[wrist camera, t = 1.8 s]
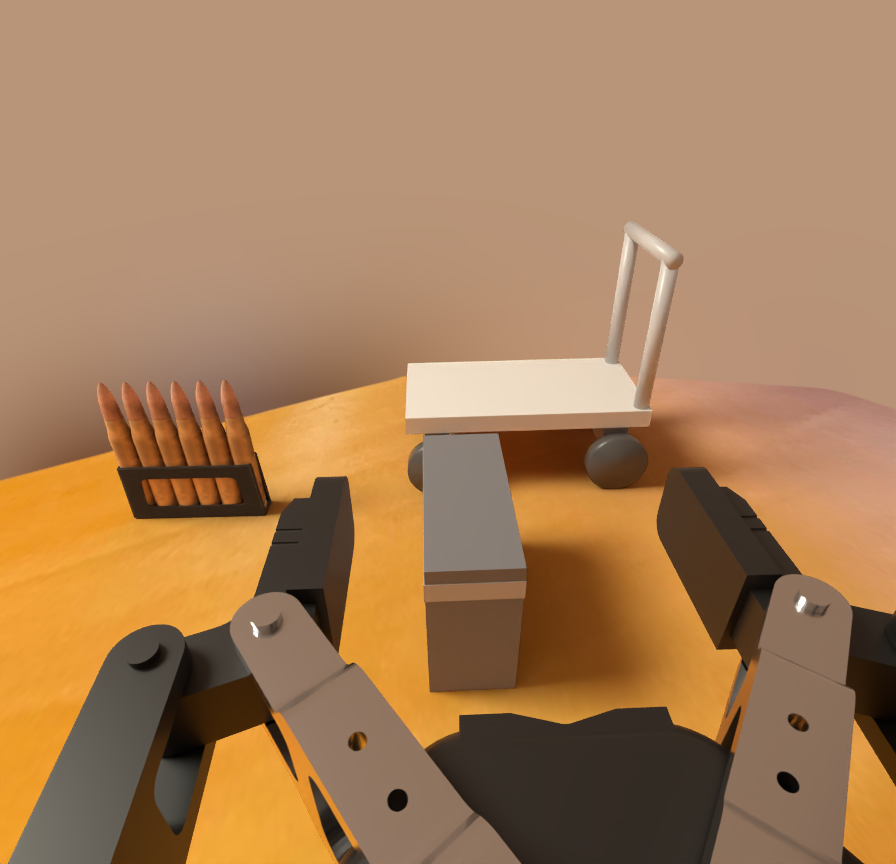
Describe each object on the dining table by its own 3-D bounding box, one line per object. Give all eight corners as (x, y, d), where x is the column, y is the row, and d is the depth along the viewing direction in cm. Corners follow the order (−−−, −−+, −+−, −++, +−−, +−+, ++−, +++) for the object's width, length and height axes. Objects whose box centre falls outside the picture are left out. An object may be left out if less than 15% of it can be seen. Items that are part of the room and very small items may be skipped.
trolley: (602, 413, 58) (634, 217, 47) (642, 487, 48) (695, 257, 37) (411, 419, 57) (400, 222, 47) (409, 495, 47) (394, 264, 36)
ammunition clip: (134, 519, 45) (79, 389, 39) (144, 504, 47) (92, 377, 40) (266, 515, 45) (233, 386, 39) (271, 501, 47) (241, 373, 40)
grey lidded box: (493, 542, 42) (498, 432, 37) (516, 689, 32) (527, 568, 27) (427, 544, 42) (422, 435, 37) (428, 693, 32) (422, 573, 27)
